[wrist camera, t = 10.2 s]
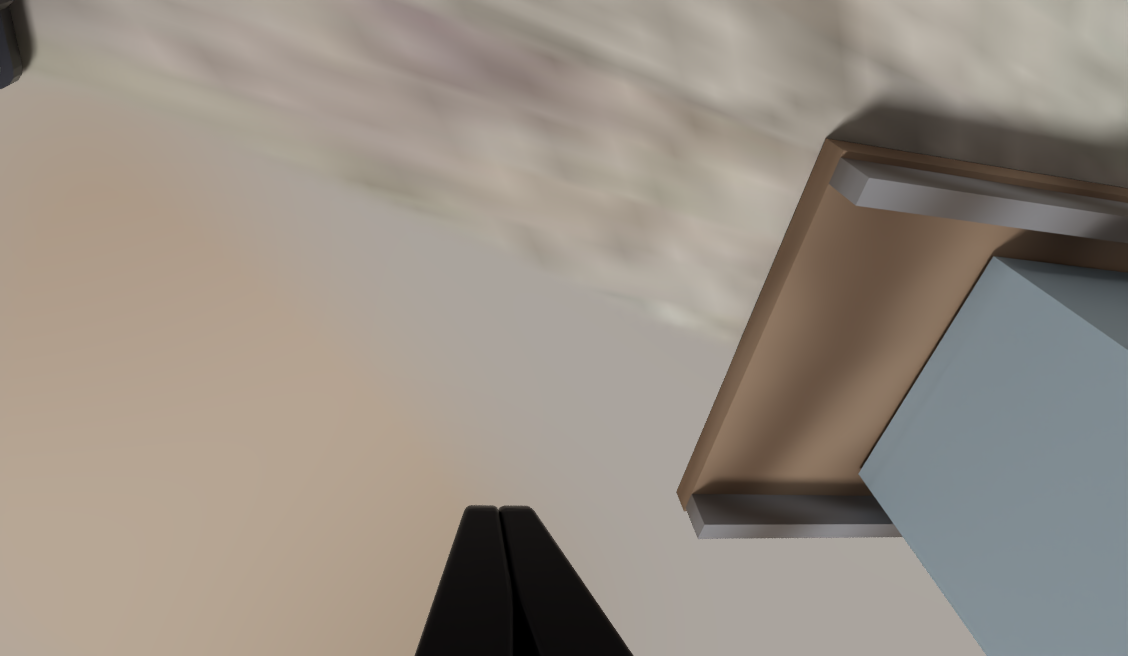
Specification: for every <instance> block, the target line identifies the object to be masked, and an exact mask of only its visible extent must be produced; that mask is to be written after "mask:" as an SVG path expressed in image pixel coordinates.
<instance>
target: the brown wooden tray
mask: <svg viewBox="0 0 1128 656" xmlns="http://www.w3.org/2000/svg"><path fill="white" fill-rule="evenodd" d="M993 256H996V257H1004V258H1012V259H1020V260H1029V261H1037V262H1045V263H1053V264H1061V265H1069V266H1077V267H1085V268H1093V269H1101V270H1109V271H1117V272H1125V273H1128V188H1122V187H1116V186H1110V185H1104V184H1098V183H1092V182H1086V181H1080V180H1074V179H1068V178H1062V177H1056V176H1050V175H1044V174H1038V173H1032V172H1026V171H1019V170H1013V169H1007V168H1001V167H995V166H989V165H983V164H977V163H971V162H965V161H959V160H953V159H947V158H941V157H935V156H929V155H923V154H917V153H911V152H905V151H899V150H893V149H887V148H881V147H875V146H869V145H863V144H857V143H851V142H845V141H839V140H833V139H827V138H826V140H825V142H824V144H823V147H822V149H821V151H820V154H819V156H818V159H817V161H816V163H815V166H814V168H813V170H812V173H811V175H810V177H809V180H808V182H807V185H806V187H805V189H804V192H803V194H802V196H801V199H800V201H799V203H798V206H797V208H796V211H795V213H794V215H793V218H792V220H791V222H790V225H789V227H788V229H787V232H786V234H785V237H784V239H783V241H782V244H781V246H780V248H779V251H778V253H777V255H776V258H775V260H774V263H773V265H772V267H771V270H770V272H769V274H768V277H767V279H766V281H765V284H764V286H763V289H762V291H761V293H760V296H759V298H758V300H757V303H756V305H755V307H754V310H753V312H752V315H751V317H750V319H749V322H748V324H747V326H746V329H745V331H744V333H743V336H742V338H741V341H740V343H739V345H738V348H737V350H736V352H735V355H734V357H733V359H732V362H731V364H730V367H729V369H728V372H727V374H726V376H725V378H724V381H723V383H722V385H721V388H720V390H719V392H718V395H717V397H716V400H715V402H714V404H713V407H712V409H711V411H710V414H709V416H708V418H707V421H706V423H705V426H704V428H703V431H702V433H701V435H700V437H699V440H698V442H697V444H696V447H695V449H694V452H693V454H692V456H691V459H690V461H689V463H688V466H687V468H686V470H685V473H684V475H683V478H682V480H681V482H680V485H679V487H678V489H677V495H678V497H679V500H680V502H681V505H682V507H683V510H684V511H687V513H688V515H689V518H690V520H691V523H692V525H693V528H694V530H695V532H696V535H697V537H698V539H713V538H716V539H718V538H832V537H833V538H834V537H836V538H837V537H903V536H902V535H901V534H900V532H899V531H898V529H897V528H896V526H895V525H894V524H893V522H892V521H891V519H890V518H889V516H888V515H887V514H886V512H885V511H884V509H883V508H882V507H881V505H880V504H879V502H878V501H877V499H876V498H875V497H874V495H873V494H872V492H871V491H870V490H869V488H868V487H867V485H866V484H865V482H864V481H863V480H862V478H861V477H860V475H859V472H860V470H861V469H862V467H863V465H864V464H865V462H866V461H867V459H868V457H869V456H870V454H871V453H872V451H873V449H874V448H875V446H876V445H877V443H878V441H879V440H880V438H881V437H882V435H883V433H884V432H885V430H886V428H887V427H888V425H889V424H890V422H891V420H892V419H893V417H894V416H895V414H896V412H897V411H898V409H899V408H900V406H901V404H902V403H903V401H904V399H905V398H906V396H907V395H908V393H909V391H910V390H911V388H912V387H913V385H914V383H915V382H916V380H917V379H918V377H919V375H920V374H921V372H922V371H923V369H924V367H925V366H926V364H927V362H928V361H929V359H930V358H931V356H932V354H933V353H934V351H935V350H936V348H937V346H938V345H939V343H940V342H941V340H942V338H943V337H944V335H945V333H946V332H947V330H948V329H949V327H950V325H951V324H952V322H953V321H954V319H955V317H956V316H957V314H958V313H959V311H960V309H961V308H962V306H963V304H964V303H965V301H966V300H967V298H968V296H969V295H970V293H971V292H972V290H973V288H974V287H975V285H976V284H977V282H978V280H979V279H980V277H981V276H982V274H983V272H984V271H985V269H986V267H987V266H988V264H989V263H990V261H991V259H992V258H993Z"/></svg>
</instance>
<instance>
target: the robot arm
mask: <svg viewBox="0 0 1128 656" xmlns="http://www.w3.org/2000/svg"><path fill="white" fill-rule="evenodd" d="M13 1H14V0H0V89H2V88H4V87H6V86H8V85H10V84H12V83H14V82H16V81H17V80H19V78H20V76H21V75H22V62H21V58H20V53H19V49H18V44H17V40H16V35H15V31H14V26H13V22H12V17H11V13H10V9H9V5H10V4H11V3H12V2H13ZM415 656H633V654H632V653H631V651H630V650H629V649H628V647H627V646H626V644H625V643H624V641H623V640H622V638H621V637H620V635H619V634H618V632H617V631H616V630H615V628H614V627H613V625H612V624H611V622H610V621H609V619H608V618H607V616H606V615H605V613H604V612H603V611H602V609H601V608H600V606H599V605H598V603H597V602H596V601H595V599H594V598H593V596H592V595H591V593H590V592H589V590H588V589H587V587H586V586H585V584H584V583H583V581H582V580H581V578H580V577H579V576H578V574H577V573H576V571H575V570H574V568H573V567H572V565H571V564H570V562H569V561H568V560H567V558H566V557H565V555H564V554H563V552H562V551H561V549H560V548H559V546H558V545H557V543H556V542H555V541H554V539H553V538H552V536H551V535H550V533H549V532H548V530H547V529H546V527H545V526H544V525H543V523H542V522H541V520H540V519H539V517H538V516H537V514H536V513H535V511H534V510H533V509H532V508H530V507H528V506H502V507H500V508H499V510H498V509H497V507H495V506H482V505H478V506H477V505H476V506H475V505H474V506H473V505H471V506H468V507H466V509H465V511H464V513H463V516H462V519H461V522H460V525H459V528H458V530H457V534H456V536H455V539H454V542H453V545H452V548H451V551H450V554H449V557H448V560H447V563H446V565H445V569H444V571H443V574H442V577H441V580H440V583H439V586H438V589H437V592H436V595H435V598H434V601H433V603H432V607H431V609H430V612H429V615H428V618H427V621H426V624H425V627H424V630H423V633H422V636H421V639H420V642H419V645H418V647H417V650H416V653H415Z"/></svg>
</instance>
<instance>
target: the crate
mask: <svg viewBox="0 0 1128 656" xmlns="http://www.w3.org/2000/svg"><path fill="white" fill-rule="evenodd" d="M859 475H860V477H861V478H862V480H863V481H864V482H865V484H866V485H867V487H868V488H869V490H870V491H871V492H872V494H873V495H874V497H875V498H876V499H877V501H878V502H879V504H880V505H881V507H882V508H883V509H884V511H885V512H886V514H887V515H888V516H889V518H890V519H891V521H892V522H893V524H894V525H895V526H896V528H897V529H898V531H899V532H900V534H901V535H902V536H903V538H904V539H905V541H906V542H907V543H908V545H909V546H910V548H911V549H912V551H913V552H914V553H915V554H916V556H917V558H918V559H919V560H920V562H921V563H922V565H923V566H924V568H925V569H926V570H927V572H928V573H929V574H930V576H931V577H932V579H933V580H934V581H935V583H936V584H937V586H938V587H939V589H940V590H941V592H942V593H943V594H944V596H945V597H946V599H947V600H948V602H949V603H950V604H951V606H952V607H953V608H954V610H955V611H956V613H957V614H958V616H959V617H960V619H961V620H962V621H963V623H964V624H965V626H966V627H967V628H968V630H969V631H970V633H971V634H972V635H973V637H974V638H975V640H976V641H977V643H978V644H979V645H980V647H981V648H982V650H983V651H984V652H985V654H986V655H987V656H1128V273H1125V272H1117V271H1109V270H1101V269H1093V268H1085V267H1077V266H1069V265H1061V264H1053V263H1045V262H1037V261H1029V260H1020V259H1012V258H1004V257H996V256H993V258H992V259H991V261H990V263H989V264H988V266H987V267H986V269H985V271H984V272H983V274H982V276H981V277H980V279H979V280H978V282H977V284H976V285H975V287H974V288H973V290H972V292H971V293H970V295H969V296H968V298H967V300H966V301H965V303H964V304H963V306H962V308H961V309H960V311H959V313H958V314H957V316H956V317H955V319H954V321H953V322H952V324H951V325H950V327H949V329H948V330H947V332H946V333H945V335H944V337H943V338H942V340H941V342H940V343H939V345H938V346H937V348H936V350H935V351H934V353H933V354H932V356H931V358H930V359H929V361H928V362H927V364H926V366H925V367H924V369H923V371H922V372H921V374H920V375H919V377H918V379H917V380H916V382H915V383H914V385H913V387H912V388H911V390H910V391H909V393H908V395H907V396H906V398H905V399H904V401H903V403H902V404H901V406H900V408H899V409H898V411H897V412H896V414H895V416H894V417H893V419H892V420H891V422H890V424H889V425H888V427H887V428H886V430H885V432H884V433H883V435H882V437H881V438H880V440H879V441H878V443H877V445H876V446H875V448H874V449H873V451H872V453H871V454H870V456H869V457H868V459H867V461H866V462H865V464H864V465H863V467H862V469H861V470H860V472H859Z"/></svg>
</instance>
